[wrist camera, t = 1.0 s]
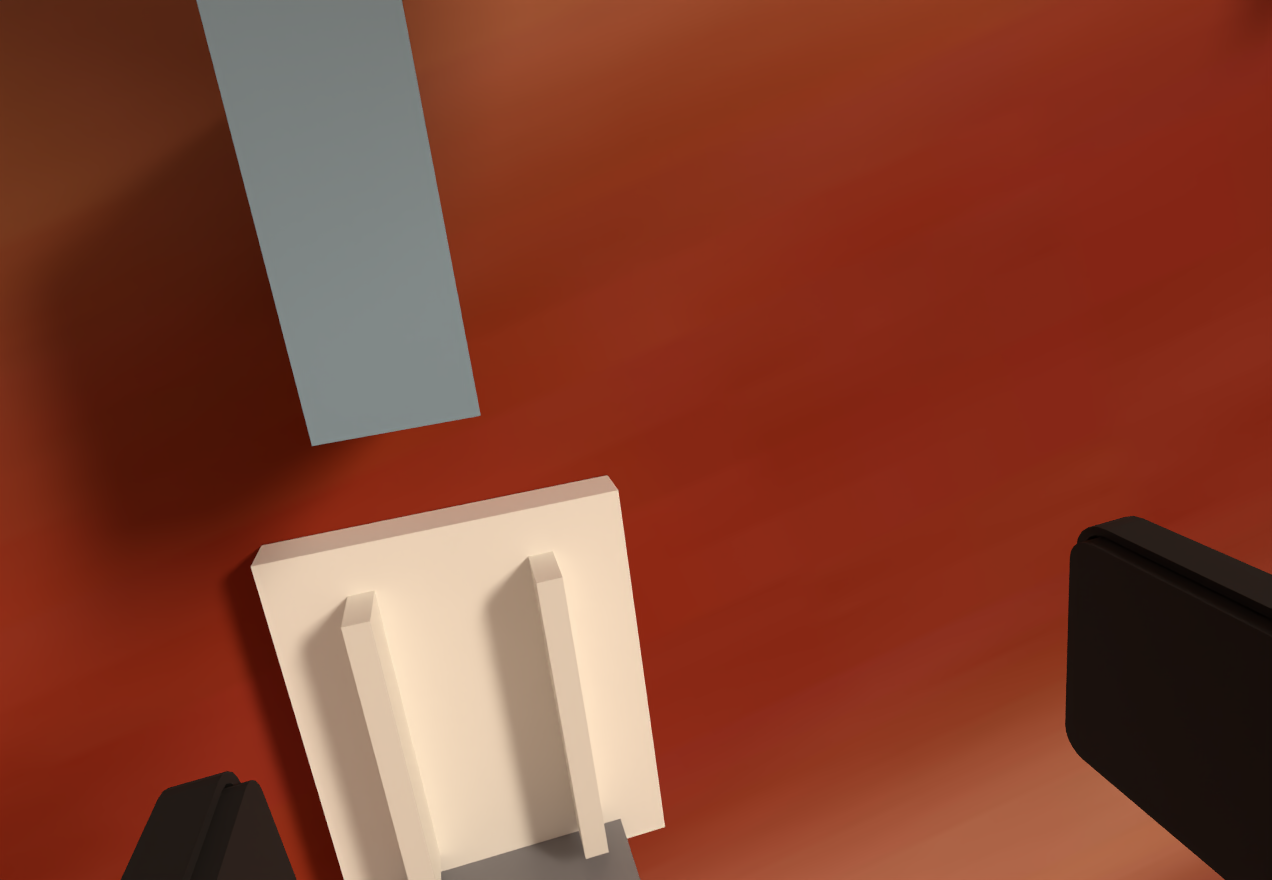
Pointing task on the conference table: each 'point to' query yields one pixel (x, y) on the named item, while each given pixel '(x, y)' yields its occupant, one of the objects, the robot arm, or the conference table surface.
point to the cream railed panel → (471, 688)
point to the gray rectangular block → (345, 209)
